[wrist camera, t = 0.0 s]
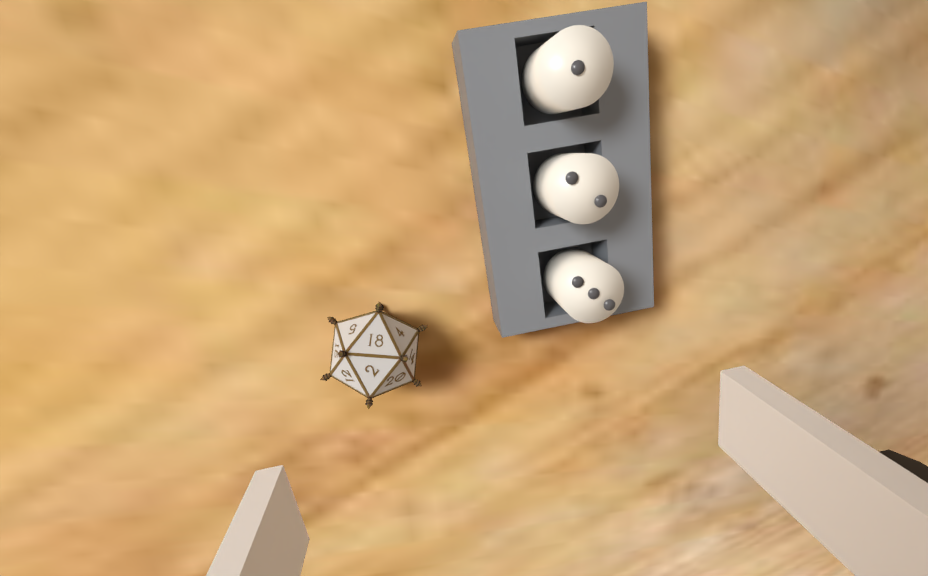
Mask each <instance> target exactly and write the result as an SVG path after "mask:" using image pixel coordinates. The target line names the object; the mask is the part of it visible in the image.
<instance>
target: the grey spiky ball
mask: <svg viewBox="0 0 928 576" xmlns="http://www.w3.org/2000/svg"><path fill="white" fill-rule="evenodd" d="M383 308H384V307H383V305H382V304H381V303H380V302H379V303H378V304H377V305H376V308H375V309H376V310H377V311H373V312H370V313H366V314H363V315H359V316H356V317H352V318H349V319H346V320H342V321H339V322H337V321H336V319H334V318H333V317H327V318H328V320H329V322H331V324H334V325H335V330H334V339H333V348H332V357H331V366H330V373H329V374H326V375H323V377H322V378H321V380H326V381H327V379H329V378H330V377H333V378H335V379H336V380H338V381H340V382H342V383H343V384H345V385H347V386H348V387H350V388H352V389H353V390H355V391H357V392H358V393H360V394H362V395H364V396H365V397H367V398H368V399H367V400H366V403H365V404H366V405H367V407H368V409H369V408H370V407H371V406H372V405H373V404H372V402H373V401H372V398H374V397H376V396H379V395H381V394H384V393H386V392H389V391H391V390H393V389H396V388H398V387H401V386H403V385H406V384H408V383H410V382H413V383H414V385H416V387H417V386H422V385H421V383H420V381H418V379H417V380H416V379H415V369H416V358H417V348H418V338H419V332H420V331H423V330H425V329H426V327H427V326H428V325H422V326H420V327H419V328H415V327H413V326H411V325H409V324H407V323H405V322H403V321H401V320H399V319H397V318H395V317H393V316H391V315H389V314H386V313H384V312H382V310H383Z"/></svg>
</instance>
